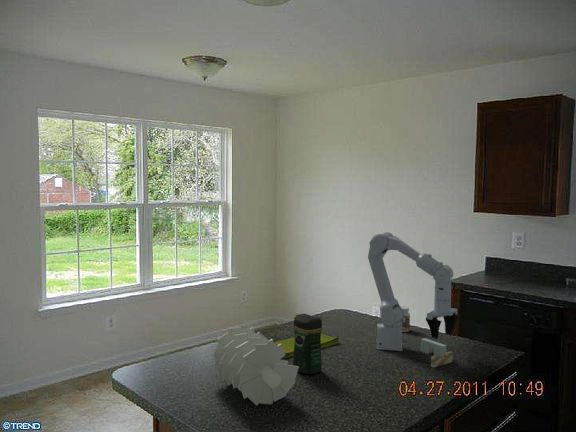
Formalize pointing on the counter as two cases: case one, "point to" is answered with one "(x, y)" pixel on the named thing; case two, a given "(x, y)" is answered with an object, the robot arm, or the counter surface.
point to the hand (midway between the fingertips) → (441, 336)
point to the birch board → (441, 359)
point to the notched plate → (433, 347)
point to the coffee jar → (307, 344)
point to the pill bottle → (405, 320)
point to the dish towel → (289, 343)
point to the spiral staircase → (254, 365)
